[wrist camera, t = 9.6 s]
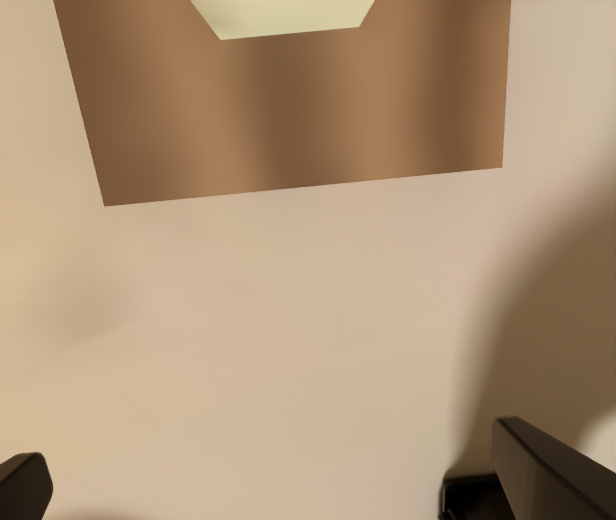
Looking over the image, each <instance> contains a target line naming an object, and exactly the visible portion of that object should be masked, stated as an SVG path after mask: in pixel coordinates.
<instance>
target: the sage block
mask: <svg viewBox="0 0 616 520" xmlns="http://www.w3.org/2000/svg"><path fill="white" fill-rule="evenodd" d="M190 1H191V2H192V3H193V5H194V6H195V7H196V9H197V10H198V11H199V13H200V14H201V15H202V17H203V18H204V19H205V20H206V22H207V23H208V24H209V26H210V27H211V28H212V30H213V31H214V32H215V34H216V35H217V36H218V37H219V39H220V40H226V39H236V38H247V37H257V36H268V35H279V34H289V33H300V32H310V31H321V30H332V29H342V28H353V27H359V26H360V24H361V23H362V21H363V19H364V18H365V16H366V14H367V12H368V11H369V9H370V7H371V6H372V4H373V2H374V0H190Z"/></svg>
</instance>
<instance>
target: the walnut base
mask: <svg viewBox="0 0 616 520" xmlns="http://www.w3.org/2000/svg"><path fill="white" fill-rule="evenodd" d="M53 1H54V5H55V9H56V13H57V17H58V21H59V25H60V29H61V33H62V37H63V41H64V45H65V49H66V53H67V57H68V61H69V65H70V69H71V73H72V77H73V81H74V85H75V89H76V94H77V98H78V102H79V106H80V110H81V114H82V118H83V122H84V126H85V130H86V134H87V138H88V142H89V146H90V150H91V154H92V158H93V162H94V166H95V170H96V174H97V178H98V182H99V186H100V190H101V194H102V198H103V202H104V206H114V205H124V204H134V203H145V202H155V201H165V200H175V199H185V198H196V197H206V196H216V195H226V194H236V193H247V192H257V191H267V190H277V189H287V188H298V187H308V186H318V185H328V184H338V183H349V182H359V181H369V180H379V179H389V178H400V177H410V176H420V175H430V174H440V173H451V172H461V171H471V170H481V169H491V168H502V160H503V141H504V122H505V102H506V83H507V64H508V45H509V25H510V6H511V0H374V2H373V4H372V6H371V7H370V9H369V11H368V12H367V14H366V16H365V18H364V19H363V21H362V23H361V24H360V26H359V27H353V28H342V29H332V30H321V31H310V32H300V33H289V34H279V35H268V36H257V37H247V38H236V39H226V40H220V39H219V37H218V36H217V35H216V34H215V32H214V31H213V30H212V28H211V27H210V26H209V24H208V23H207V22H206V20H205V19H204V18H203V17H202V15H201V14H200V13H199V11H198V10H197V9H196V7H195V6H194V5H193V3H192V2H191V1H190V0H53Z"/></svg>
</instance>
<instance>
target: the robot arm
mask: <svg viewBox="0 0 616 520" xmlns="http://www.w3.org/2000/svg"><path fill="white" fill-rule="evenodd" d="M491 459H492V462H493V465H494V467H495V470H496V472H497V474H496V475H486V476H476V477H466V478H456V479H449V480H446V481H445V482H444V483H443V486H442V512H440V513H439V515H438V520H616V473H615V472H613V471H611V470H609V469H608V468H606V467H604V466H602V465H601V464H599V463H597V462H595V461H594V460H592V459H590V458H588V457H587V456H585V455H583V454H582V453H580V452H578V451H576V450H575V449H573V448H571V447H569V446H568V445H566V444H564V443H562V442H561V441H559V440H557V439H555V438H554V437H552V436H550V435H549V434H547V433H545V432H543V431H542V430H540V429H538V428H536V427H535V426H533V425H531V424H529V423H528V422H526V421H524V420H522V419H521V418H519V417H517V416H501V417H496V418H494V420H493V423H492V435H491ZM52 493H53V483H52V479H51V476H50V473H49V470H48V467H47V464H46V461H45V458H44V456H43V455H42V454H41V453H39V452H32V453H21V454H17V455H15V456H13V457H12V458H10V459H8V460H7V461H5V462H3V463H2V464H0V520H42V518H43V516H44V513H45V511H46V509H47V507H48V504H49V502H50V500H51V497H52Z"/></svg>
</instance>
